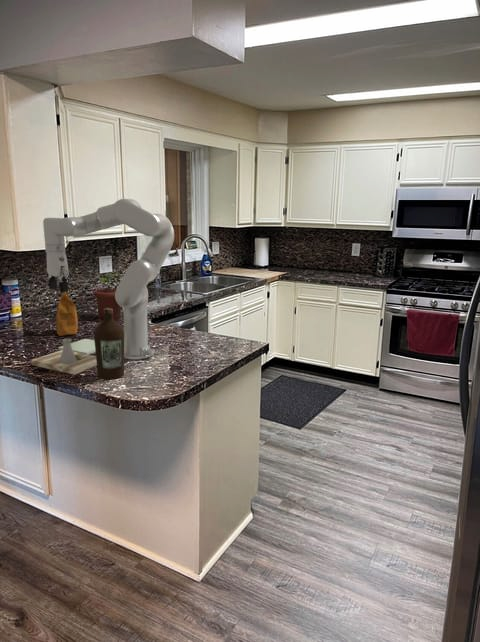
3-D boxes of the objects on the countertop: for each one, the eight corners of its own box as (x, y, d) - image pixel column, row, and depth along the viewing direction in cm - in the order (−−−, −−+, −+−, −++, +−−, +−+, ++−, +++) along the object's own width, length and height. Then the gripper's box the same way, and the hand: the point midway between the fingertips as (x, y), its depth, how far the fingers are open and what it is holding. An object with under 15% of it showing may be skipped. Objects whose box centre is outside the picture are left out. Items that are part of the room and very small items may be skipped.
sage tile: (112, 345, 206) (112, 343, 206) (86, 355, 192) (86, 352, 192) (85, 340, 213) (85, 338, 213) (58, 349, 199) (58, 347, 199)
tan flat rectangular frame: (104, 362, 183) (104, 357, 183) (74, 374, 169) (73, 369, 169) (63, 354, 193) (63, 349, 192) (31, 365, 178) (31, 360, 178)
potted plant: (123, 314, 268) (121, 272, 263) (132, 322, 250) (131, 277, 244) (91, 317, 260) (89, 273, 255) (99, 325, 242) (97, 278, 236)
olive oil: (94, 372, 172) (91, 307, 167) (123, 369, 177) (120, 305, 171) (97, 381, 163) (94, 313, 157) (128, 378, 167) (125, 311, 161)
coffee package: (78, 329, 233) (76, 286, 228) (78, 335, 221) (75, 290, 216) (57, 330, 230) (54, 287, 225) (56, 337, 218) (52, 291, 213)
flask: (71, 360, 186) (70, 336, 184) (81, 363, 182) (80, 339, 179) (55, 364, 180) (53, 339, 178) (65, 368, 176) (63, 343, 174)
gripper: (74, 249, 184) (77, 291, 188) (54, 247, 196) (57, 286, 200) (56, 250, 179) (59, 293, 183) (36, 247, 190) (40, 288, 194)
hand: (58, 290), depth 191 cm, fingers open, 9 cm apart
